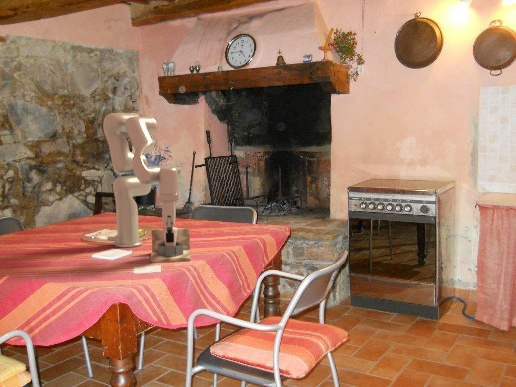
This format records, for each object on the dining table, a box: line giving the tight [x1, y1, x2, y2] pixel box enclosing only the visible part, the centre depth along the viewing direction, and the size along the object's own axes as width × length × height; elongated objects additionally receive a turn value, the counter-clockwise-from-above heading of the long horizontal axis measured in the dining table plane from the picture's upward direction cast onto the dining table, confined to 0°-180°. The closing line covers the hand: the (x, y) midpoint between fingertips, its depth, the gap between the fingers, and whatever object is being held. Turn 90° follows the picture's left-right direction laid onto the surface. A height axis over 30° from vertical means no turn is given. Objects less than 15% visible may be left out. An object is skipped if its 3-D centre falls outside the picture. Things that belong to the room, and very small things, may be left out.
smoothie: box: [161, 226, 179, 247], centre depth 215 cm, size 6×6×14 cm
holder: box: [149, 227, 191, 263], centre depth 216 cm, size 16×16×10 cm
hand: (170, 240), depth 216 cm, fingers closed on smoothie, 6 cm apart
